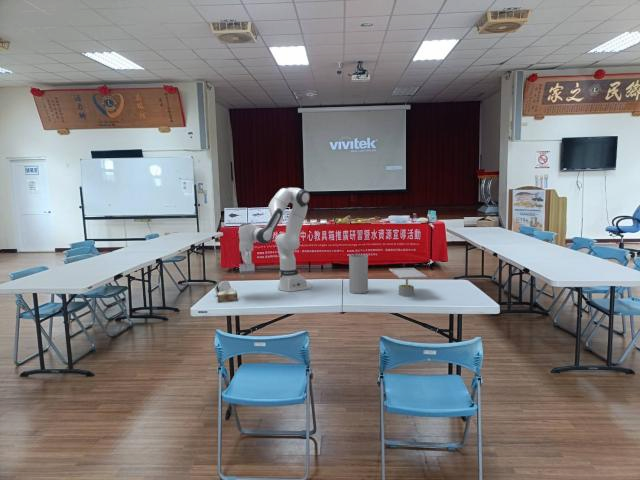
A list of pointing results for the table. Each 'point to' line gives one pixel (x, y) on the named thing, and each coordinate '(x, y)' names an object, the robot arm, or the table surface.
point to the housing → (244, 271)
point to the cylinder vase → (358, 273)
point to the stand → (227, 296)
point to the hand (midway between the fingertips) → (247, 269)
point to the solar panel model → (407, 273)
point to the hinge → (223, 287)
